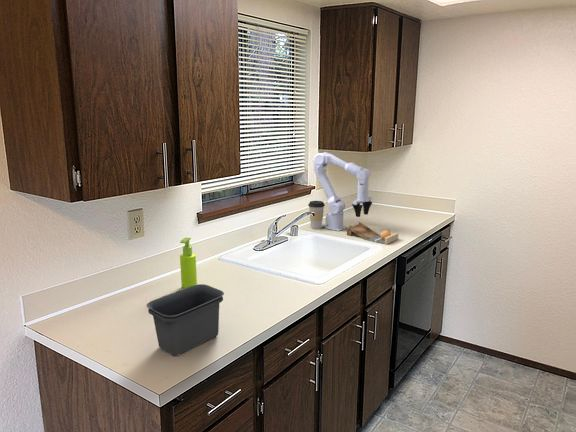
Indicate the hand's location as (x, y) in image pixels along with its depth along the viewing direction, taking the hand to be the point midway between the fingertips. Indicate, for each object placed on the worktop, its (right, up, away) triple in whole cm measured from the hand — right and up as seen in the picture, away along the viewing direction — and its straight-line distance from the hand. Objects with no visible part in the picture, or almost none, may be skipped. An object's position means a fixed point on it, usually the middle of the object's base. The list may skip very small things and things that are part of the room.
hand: (361, 215), depth 256 cm
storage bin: (-71, -38, -114) cm, 140 cm away
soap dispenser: (-79, -28, -74) cm, 112 cm away
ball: (+10, -10, -14) cm, 20 cm away
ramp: (0, -12, -4) cm, 12 cm away
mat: (+8, -13, -11) cm, 19 cm away
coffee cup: (-25, -7, +11) cm, 28 cm away
